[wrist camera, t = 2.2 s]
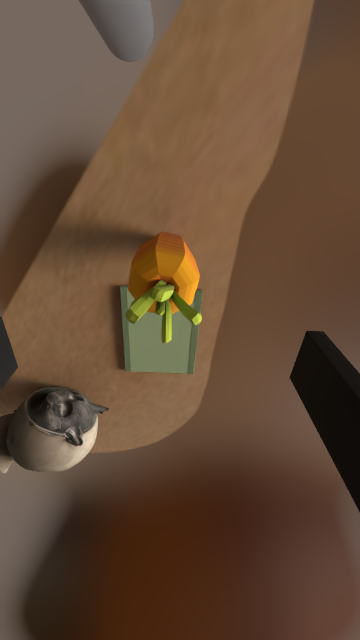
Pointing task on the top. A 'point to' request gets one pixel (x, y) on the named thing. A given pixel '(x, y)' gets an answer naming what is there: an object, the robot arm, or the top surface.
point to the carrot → (163, 281)
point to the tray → (159, 340)
